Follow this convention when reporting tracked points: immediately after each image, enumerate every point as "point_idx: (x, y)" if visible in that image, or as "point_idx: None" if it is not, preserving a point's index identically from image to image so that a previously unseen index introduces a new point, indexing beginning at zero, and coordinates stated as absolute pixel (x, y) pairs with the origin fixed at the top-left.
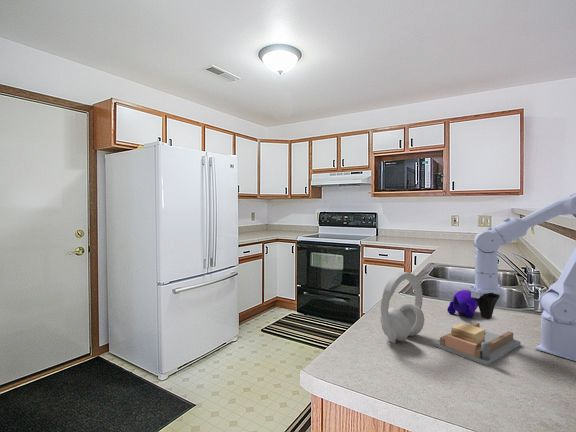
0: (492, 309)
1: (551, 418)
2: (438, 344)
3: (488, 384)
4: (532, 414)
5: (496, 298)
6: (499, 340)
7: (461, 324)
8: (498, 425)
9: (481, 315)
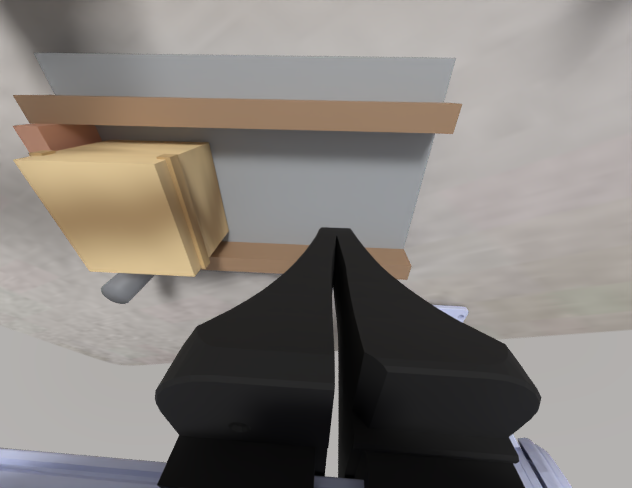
0: (338, 327)
1: (110, 354)
2: (52, 85)
3: (80, 287)
4: (88, 342)
5: (339, 462)
6: (274, 272)
7: (122, 173)
8: (7, 326)
9: (317, 234)
